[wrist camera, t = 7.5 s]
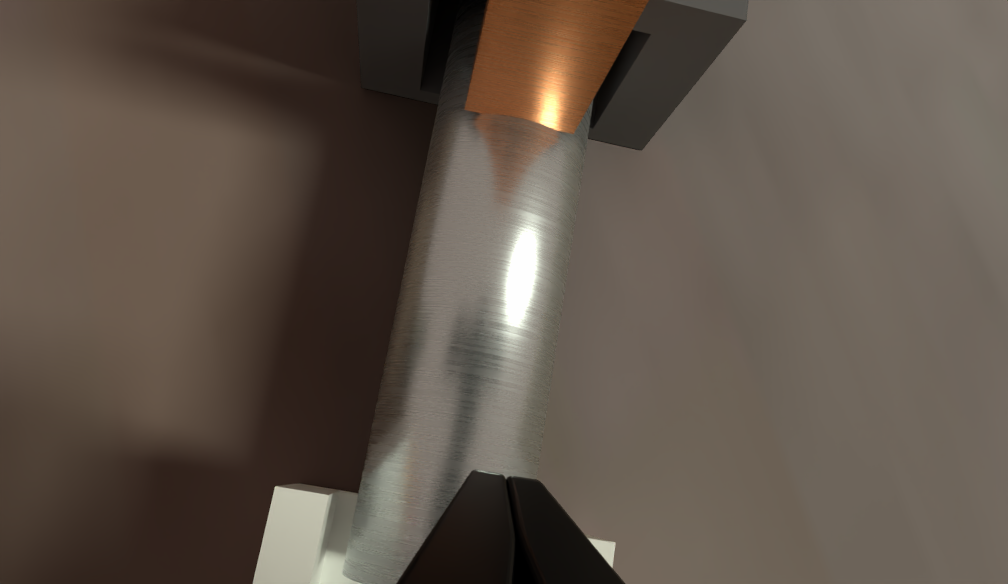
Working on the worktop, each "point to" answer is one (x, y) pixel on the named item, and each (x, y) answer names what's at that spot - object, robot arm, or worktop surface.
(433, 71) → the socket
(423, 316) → the tube
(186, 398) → the worktop surface
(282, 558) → the open tray
